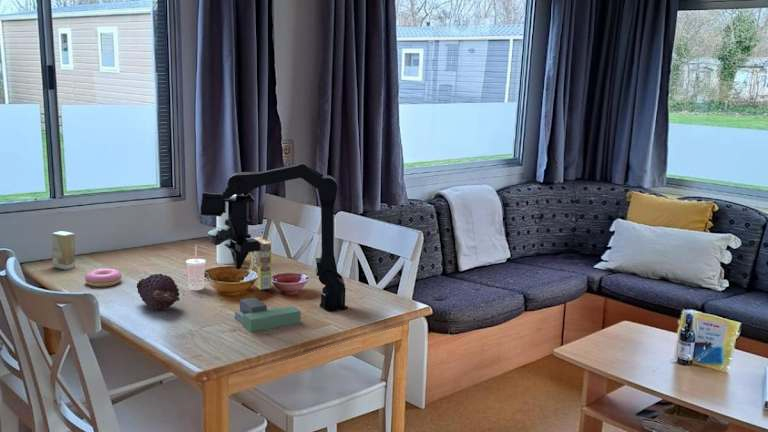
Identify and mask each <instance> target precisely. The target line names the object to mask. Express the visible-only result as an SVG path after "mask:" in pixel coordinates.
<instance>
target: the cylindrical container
mask: <svg viewBox="0 0 768 432" xmlns="http://www.w3.org/2000/svg"><path fill="white" fill-rule="evenodd" d="M230 198H236V195H233V196H232V197H230ZM226 219H228V202H226V213H223V214H222V216H216V228H218V227H221V226H223V225H225V221H226ZM224 244H227V240H226V241H224V242H222V243H221V244H219V245H216V262H217V264H220V265H231V264H234V261H233V257H232V254H231V251H230V250H229V249H228V248H227V247H226V246H225V245H224Z"/></svg>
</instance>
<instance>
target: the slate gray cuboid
mask: <svg viewBox="0 0 768 432" xmlns="http://www.w3.org/2000/svg"><path fill="white" fill-rule="evenodd" d="M267 308H268V305H267V304H265V303H264V302H262V301H261V300H259V299H258V298H256V297H250V298H249V297H247V298H243V299H242V298H241V299H239V311H241V312H242V313H243V314H247V313H253V312H259V311H265V310H267Z"/></svg>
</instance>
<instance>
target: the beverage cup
mask: <svg viewBox="0 0 768 432" xmlns="http://www.w3.org/2000/svg"><path fill="white" fill-rule="evenodd" d="M197 247H198V246H197V245H195V246H194V258H190V259H187V260H186V261H185V263H186V268H187V269H186V270H187V281H188V282H187V283H188V290H190V291H199V290H203V289H204V287H205V286H204V285H205V269H206V264H207V262H206V259H203V258H197V256H198V255H197V253H198V252H197V249H198V248H197Z"/></svg>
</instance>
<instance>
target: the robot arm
mask: <svg viewBox="0 0 768 432" xmlns="http://www.w3.org/2000/svg"><path fill="white" fill-rule="evenodd" d="M297 179H302V180H304V181H305V182H306V183H308V184H309V185H311V186H312V187H314V188H315V189H317V194H318V195H317V196H318V201H319V204H320V229H321V230H320V234H321V235H320V240H321V245H320V247H321V251H320V257H315V263H316V268H315V275H316V277H318V280H319V283H321V284H322V285H324V286H323V287H322V290H321V291H322V292H321V293H320V303H319V307H321V308H323V309H324V310H326V311H328V312H334V311H342V310H346V309H348V307H349V305H346V289H347V288H346V287H345V286H346V284H345V280H344V277H343V276H342V275H341V274H340V273H339V272H338V268H337V263H336V257H335V248H334V247H335V237H334V236H335V235H334V234H335V232H334V231H335V230H334V229H335V227H334V224H335V223H334V220H335V218H334V215H335V214H334V213H335V212H334V208H335V203H336V200H337V193H338V184H337V182H336V180H335V178H334V177H333V176H332V175H329V174H328V175H327V174H325V175H324V174H322V173H321V172H319V171H317V170H315V169H314V168H312V167H310V166H309V165H308V164H307V163H305V162H299V163H297V164H294V165H293V164H292V165H288V166H282V167H279V168H274V169H268V170H263V171H254V172H253V171H244V172H243V171H239V172H238V171H237V172H235V173H233V174H231V176H230V177H229V179H228V180H227V187H225V189H222V193H220V192H219V193H218V192H207V191H206V192H205V191H204V192H202V193H201V194H202V195H201V204H200V215H201V217H217V216H222V214H223V213H226V202H228V219H226V221H225V225H223V226H221V227H218V228H217V227H216V228H214V229H211V230H210V231H208V232H207V235H208V238H209V240H210V243H211V244H214V245H215V246H217V245H219V244H221V243H222V242H224V241H226V240H227V244H224V245H225V246H226V247H227V248H228V249H229V250H230V251H231V254H232V257H233V261H234V263H233V264H234V268H235V270H241V268H242V266H243V264H244V262H245V260H246V258H247V257H248V255H249V254H250V252H254V251H260V250H261V244H260V243H259V242H258V241H257V240H255V239H251V238H252V236H251V234H250V233H249V225H251V224H252V221H251V220H250V219H249V203H255V201H256V198H255V196H253V194H251V193H250V192H251V191H254V190H256V189H257V188H260V187H262V186H267V185H272V184H276V183H282V182H287V181H292V180H297ZM246 193H248V194H246ZM245 194H246V195H245ZM233 195H236V198H230V197H232V196H233Z"/></svg>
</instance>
